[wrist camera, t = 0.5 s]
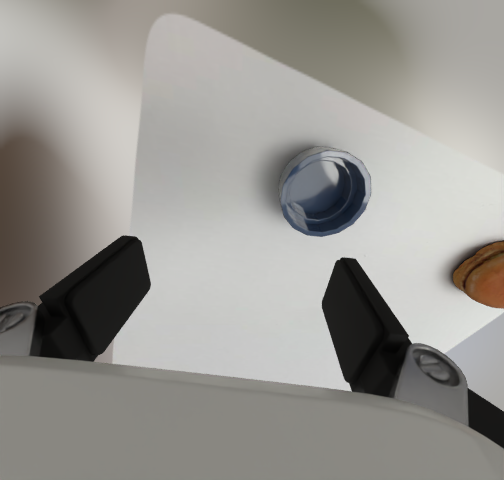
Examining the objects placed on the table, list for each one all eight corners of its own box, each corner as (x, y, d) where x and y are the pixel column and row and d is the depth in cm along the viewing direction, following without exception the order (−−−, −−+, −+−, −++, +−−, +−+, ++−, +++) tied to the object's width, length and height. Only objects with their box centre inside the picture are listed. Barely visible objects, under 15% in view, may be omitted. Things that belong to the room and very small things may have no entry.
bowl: (284, 143, 23) (289, 146, 19) (363, 150, 23) (386, 155, 19) (273, 215, 28) (275, 232, 23) (339, 222, 28) (353, 240, 23)
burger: (439, 288, 32) (464, 311, 28) (473, 237, 27) (510, 255, 23) (502, 293, 32) (537, 317, 28) (547, 242, 27) (597, 262, 23)
